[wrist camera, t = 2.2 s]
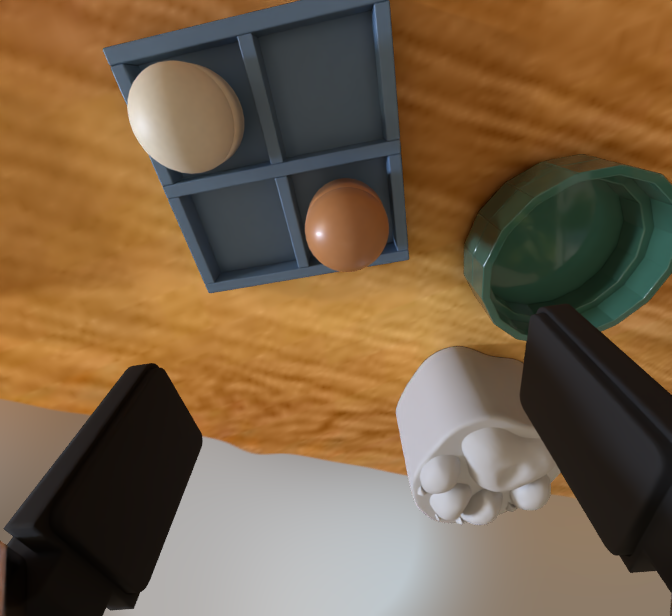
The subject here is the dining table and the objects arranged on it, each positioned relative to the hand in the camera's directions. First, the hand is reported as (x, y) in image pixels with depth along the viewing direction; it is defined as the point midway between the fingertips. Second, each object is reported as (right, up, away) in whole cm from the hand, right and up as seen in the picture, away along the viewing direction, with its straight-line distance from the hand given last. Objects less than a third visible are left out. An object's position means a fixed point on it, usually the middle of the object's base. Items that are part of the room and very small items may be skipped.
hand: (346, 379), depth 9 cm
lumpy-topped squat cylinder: (+11, -7, +23) cm, 26 cm away
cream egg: (-7, +12, +10) cm, 17 cm away
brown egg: (0, +8, +13) cm, 15 cm away
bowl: (+14, +6, +14) cm, 21 cm away
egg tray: (-3, +10, +11) cm, 16 cm away
